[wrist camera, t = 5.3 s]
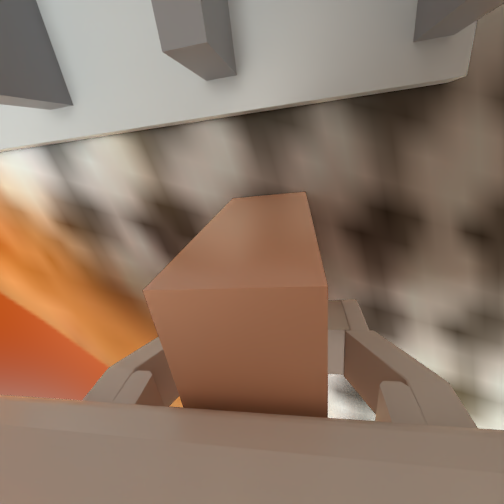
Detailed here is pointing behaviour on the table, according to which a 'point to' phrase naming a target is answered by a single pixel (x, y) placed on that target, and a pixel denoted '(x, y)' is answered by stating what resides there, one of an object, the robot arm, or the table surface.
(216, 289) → the block
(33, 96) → the rack
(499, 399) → the table surface
